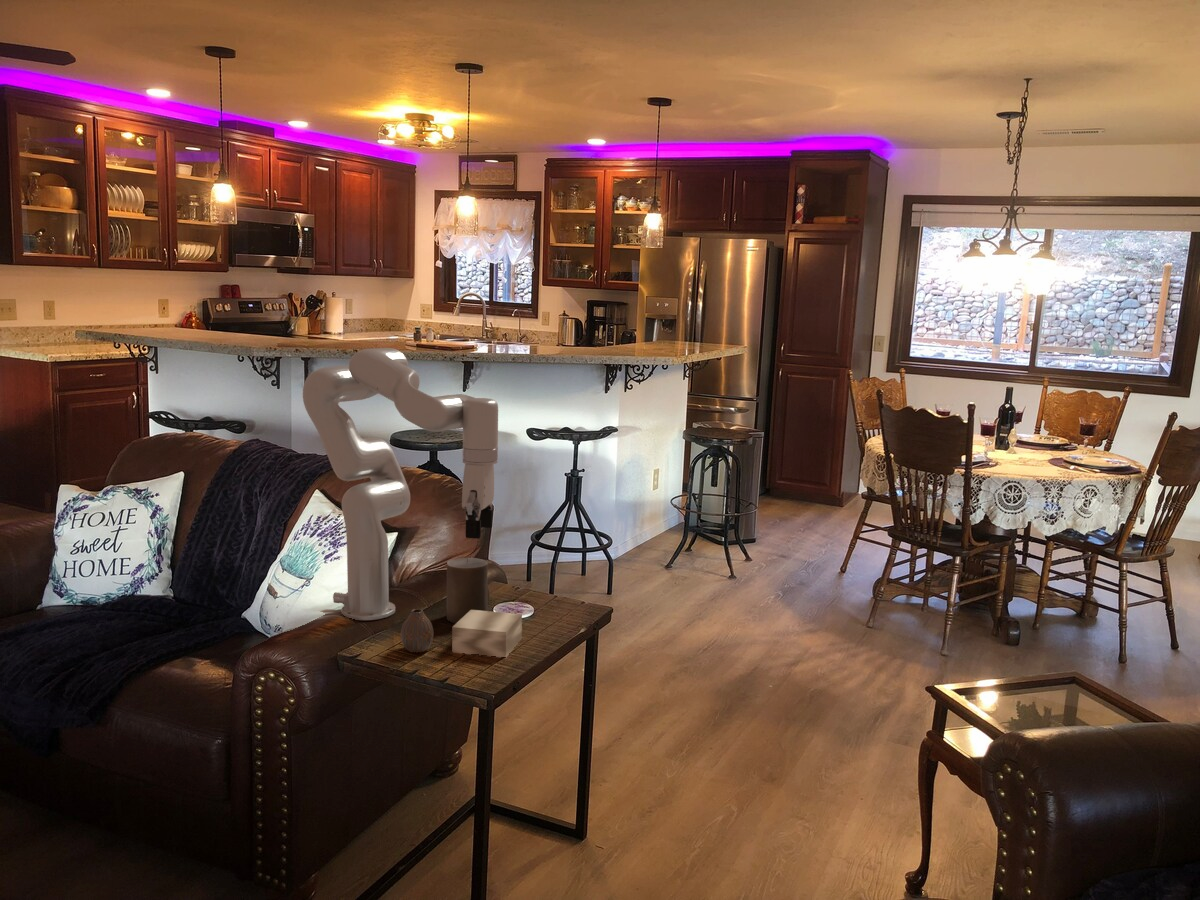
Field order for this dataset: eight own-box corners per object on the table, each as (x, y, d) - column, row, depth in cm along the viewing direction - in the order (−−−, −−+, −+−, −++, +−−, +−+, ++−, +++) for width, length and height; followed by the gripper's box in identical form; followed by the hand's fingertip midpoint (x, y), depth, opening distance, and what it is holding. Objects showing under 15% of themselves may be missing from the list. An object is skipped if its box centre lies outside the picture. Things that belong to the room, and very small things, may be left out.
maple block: (452, 653, 205) (452, 627, 204) (470, 635, 217) (470, 609, 216) (505, 659, 203) (506, 632, 202) (521, 639, 214) (522, 614, 214)
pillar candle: (484, 625, 222) (485, 563, 220) (442, 624, 222) (443, 561, 220) (489, 612, 232) (490, 552, 230) (449, 611, 232) (450, 551, 230)
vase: (412, 641, 211) (412, 603, 209) (439, 646, 208) (439, 608, 207) (394, 652, 204) (394, 613, 203) (422, 657, 202) (422, 617, 201)
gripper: (473, 448, 215) (473, 522, 218) (451, 461, 198) (451, 541, 201) (506, 450, 214) (505, 524, 217) (486, 463, 197) (485, 543, 200)
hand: (479, 532), depth 209 cm, fingers open, 9 cm apart
